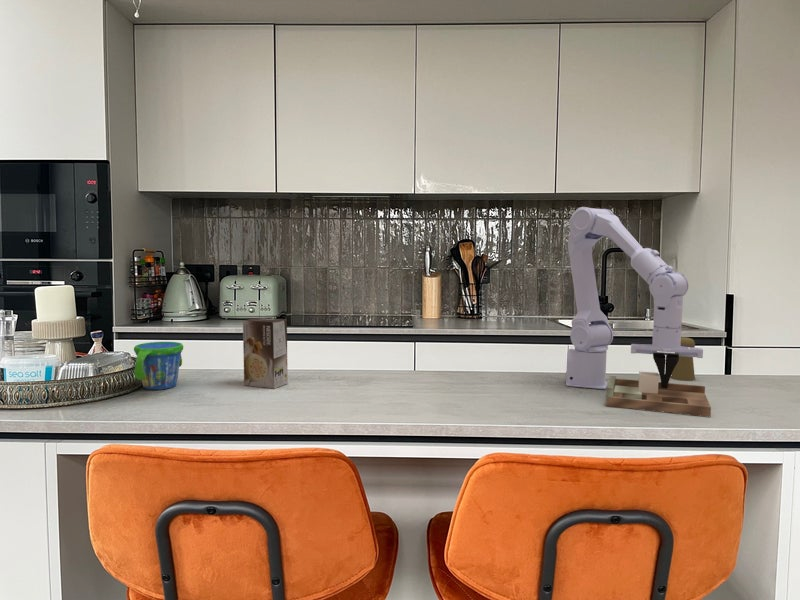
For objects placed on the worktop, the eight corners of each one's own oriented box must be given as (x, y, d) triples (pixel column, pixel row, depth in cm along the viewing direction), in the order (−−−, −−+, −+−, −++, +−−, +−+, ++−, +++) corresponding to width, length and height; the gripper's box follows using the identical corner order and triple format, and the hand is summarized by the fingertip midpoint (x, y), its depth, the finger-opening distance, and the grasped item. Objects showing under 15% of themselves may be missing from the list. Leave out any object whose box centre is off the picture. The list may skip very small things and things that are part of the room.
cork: (697, 381, 154) (700, 339, 153) (673, 380, 155) (675, 338, 154) (691, 376, 159) (693, 336, 159) (667, 375, 161) (669, 335, 160)
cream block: (638, 392, 131) (639, 374, 131) (638, 388, 135) (639, 371, 135) (658, 393, 130) (658, 376, 130) (657, 390, 134) (658, 372, 133)
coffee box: (289, 383, 145) (288, 319, 144) (274, 389, 139) (273, 321, 138) (258, 380, 148) (257, 317, 147) (242, 385, 142) (241, 319, 141)
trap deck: (606, 406, 127) (606, 387, 126) (609, 392, 140) (610, 375, 139) (710, 417, 119) (711, 397, 119) (703, 401, 132) (704, 383, 132)
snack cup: (155, 396, 131) (154, 351, 130) (116, 392, 134) (115, 348, 133) (199, 382, 146) (198, 341, 145) (163, 379, 149) (163, 339, 148)
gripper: (631, 327, 129) (629, 387, 130) (705, 330, 124) (702, 394, 125) (632, 323, 136) (629, 381, 137) (702, 327, 130) (699, 387, 131)
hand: (664, 387), depth 131 cm, fingers closed
